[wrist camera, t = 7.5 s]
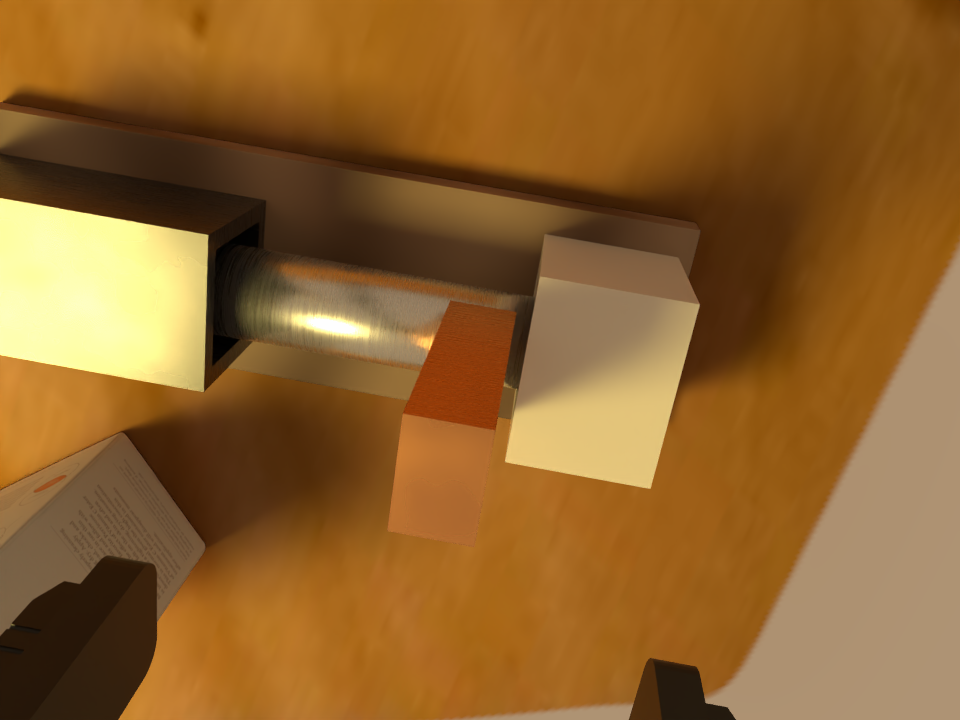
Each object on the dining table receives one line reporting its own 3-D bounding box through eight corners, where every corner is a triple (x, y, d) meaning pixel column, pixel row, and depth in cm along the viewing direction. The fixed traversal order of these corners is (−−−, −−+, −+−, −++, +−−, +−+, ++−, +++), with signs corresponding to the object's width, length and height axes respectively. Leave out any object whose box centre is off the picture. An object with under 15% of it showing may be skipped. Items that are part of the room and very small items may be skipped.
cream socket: (514, 394, 30) (504, 462, 26) (544, 234, 28) (539, 276, 24) (637, 417, 30) (650, 488, 26) (678, 257, 28) (699, 304, 23)
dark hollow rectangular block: (3, 289, 31) (-97, 336, 26) (-7, 152, 29) (-116, 177, 24) (258, 335, 31) (203, 392, 26) (266, 200, 29) (208, 235, 24)
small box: (69, 609, 38) (-163, 883, 26) (-20, 497, 36) (-314, 736, 24) (213, 547, 36) (35, 815, 24) (127, 426, 34) (-114, 649, 22)
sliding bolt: (195, 309, 29) (3, 459, 19) (197, 225, 28) (-6, 339, 18) (592, 380, 29) (606, 571, 19) (611, 298, 28) (635, 455, 18)
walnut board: (15, 314, 33) (-5, 325, 31) (1, 102, 29) (-21, 105, 28) (642, 429, 32) (645, 443, 31) (695, 222, 29) (700, 230, 28)
